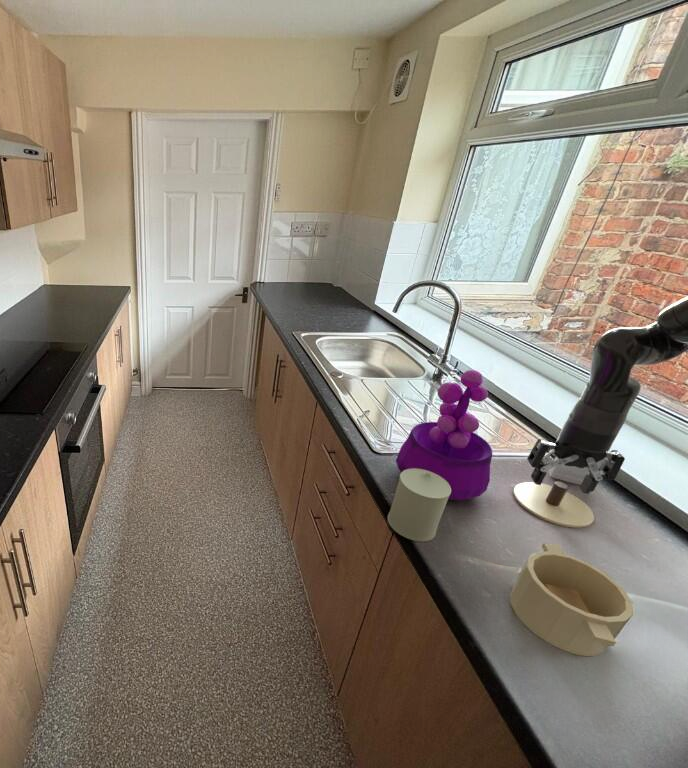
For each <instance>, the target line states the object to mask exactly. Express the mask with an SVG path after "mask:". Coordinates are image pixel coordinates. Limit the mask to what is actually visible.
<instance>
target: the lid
mask: <svg viewBox="0 0 688 768" xmlns="http://www.w3.org/2000/svg"><path fill="white" fill-rule="evenodd" d="M568 490H569V485H568V484H567V483H565V482H563V481H560V480H559V481H558V480H556V481H554V483H553V484H552V485H551V484H546V483H543V482H542V483H541V485H537V484H535V483H534V481H525V482H519V483H517V484H516V485H515V486H514V488H513V490H512V493H513V497H514V499H515V500H516V501H517V503H518V504H519V505H520V506H521V507H523V508H524V510H526V511H527V512H529V513H531V514H532V515H534V516H535V517H538V518H540V519H542V520H544V521H545V522H548V523H552V524H555V525H558V526H561V527H567V528H574V529H582V528H586V527H589V526H592V524H593V523H594V520H595V515H594V512H593V510H592V509H591V508H590V507H589V506H588V505H587V504H586V503H585V502H584V501H583V500H581V498H578V497H577V496H575V495H573V494H571V492H568Z"/></svg>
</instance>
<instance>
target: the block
mask: <svg viewBox="0 0 688 768" xmlns="http://www.w3.org/2000/svg"><path fill="white" fill-rule="evenodd" d="M544 586H545V587H546V588H547V589H548V590H549V591H550V592H551V593H553V594H554V595H556V596H557V597H559V598H560V599H561V600H563V601H564V602H566V603H567V604H569V605H572V606H574V607H576V608H578V609H580V610H582V611H584V612H587V613H590V612H589V611H588V609H587V607H586V605H585V604H584V602H583V600H582V599H581V597H580V595H579V594H578V592H577V591H576V590H572V589H568V588H563V587H559V586H554V585H550V584H545V585H544Z"/></svg>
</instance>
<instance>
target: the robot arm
mask: <svg viewBox="0 0 688 768" xmlns="http://www.w3.org/2000/svg"><path fill="white" fill-rule="evenodd" d="M687 351H688V296H686V297H684V298H682V299H680V300H678V301H676V302H674V303H672V304H670V305H668V306H667V307H665V308H664V309H663V310H661V311H660V312H659V313H658V315H657V317H656V322H654V323H652V324H649V325H646V326H630V327H617V328H612V329H610V330H608V331H605V332H604V333H603V334H602V335H601V336H600V337H599V338H598V339H597V340H596V342H595V344H594V346H593V348H592V352H591V359H590V367H589V378H588V381H587V384H586V385H585V387H584V389H583V392H582V393H581V395H580V397H579V399H578V400H577V401H576V402H575V404H574V405H573V408H572V409H571V411H570V413H569V414H568V417H567V419H566V421H565V422H566V423H565V422H564V424H565V425H564V424H563V426H564V427H563V426H562V428H563V429H562V428H561V430H562V431H561V430H560V432H561V433H560V432H559V434H560V437H559V440H558V441H557V442H556V441H555V442H549V441H546V440H545V439H543V438H538V439H537V440H536V442H535V443H534V446H533V447H532V449H531V451H530V453H529V454H528V455H527V457H526V458H527V459H526V460H527V462H528V463H529V465H530V466H531V467H532V468H533V470H532V473H531V475H530V478H531V479H532V482H534V483H535V484H537V485H541V483H542V484H543V481H544V479H545V477H546V475H547V474H548V473H547V472H548V470H550V469H552V468H554V467H555V468H558V467H560V466H562V465H565V466H575V467H578V468H584V467H587V469H588V471H589V473H590V474H587V475H586V476H585V478H584V480H583V482H582V483H581V485H579V489H580V490H581V492H582V493H583V494H590V493H592V492H594V491H595V489H596V487H597V486H598V484H599V482H601V481H603V480H608V481H615V480H616V478H617V476H618V474H619V472H620V470H621V468H622V466H623V464H624V462H625V460H626V459H625V456H624V455H623V454H622V453H620V452H619V451H618V450H617V449H612V450H611V448H612V446H613V443H614V441H615V440H616V439H617V436H618V434H620V431H621V430H622V427H623V426H624V424H625V422H626V419H627V417H628V414H629V412H630V410H631V408H632V406H633V405H634V403H635V401H636V399H637V398H638V396H639V394H640V391H641V389H642V388H641V387H642V385H641V383H640V381H639V380H638V379H636V378H635V377H633V376H631V371H632V369H633V368H634V367H641V366H642V367H643V366H654V365H658V364H661V363H665V362H668V361H670V360H672V359H675V358H677V357H679V356H681V355H682V354H684V353H686V352H687ZM611 445H612V446H611ZM610 447H611V448H610ZM552 449H554V451H552ZM609 449H610V450H611V451H610V450H609ZM608 450H609V451H608ZM551 451H552V452H551ZM555 457H558V460H556V461H555V460H554V458H555ZM603 459H604V460H605V462H604V464H603V465H602V468H601V470H600V468H598V466H597V464H596V463H597V462H599V461H601V460H603ZM604 460H603V461H604Z"/></svg>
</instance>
